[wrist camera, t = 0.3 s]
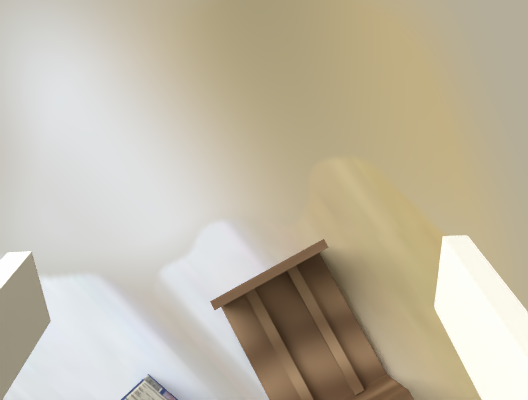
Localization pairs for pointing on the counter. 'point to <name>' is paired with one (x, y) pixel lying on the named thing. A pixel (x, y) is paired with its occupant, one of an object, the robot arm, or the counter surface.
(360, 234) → the counter surface
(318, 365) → the tray
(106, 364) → the counter surface
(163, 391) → the beverage box
